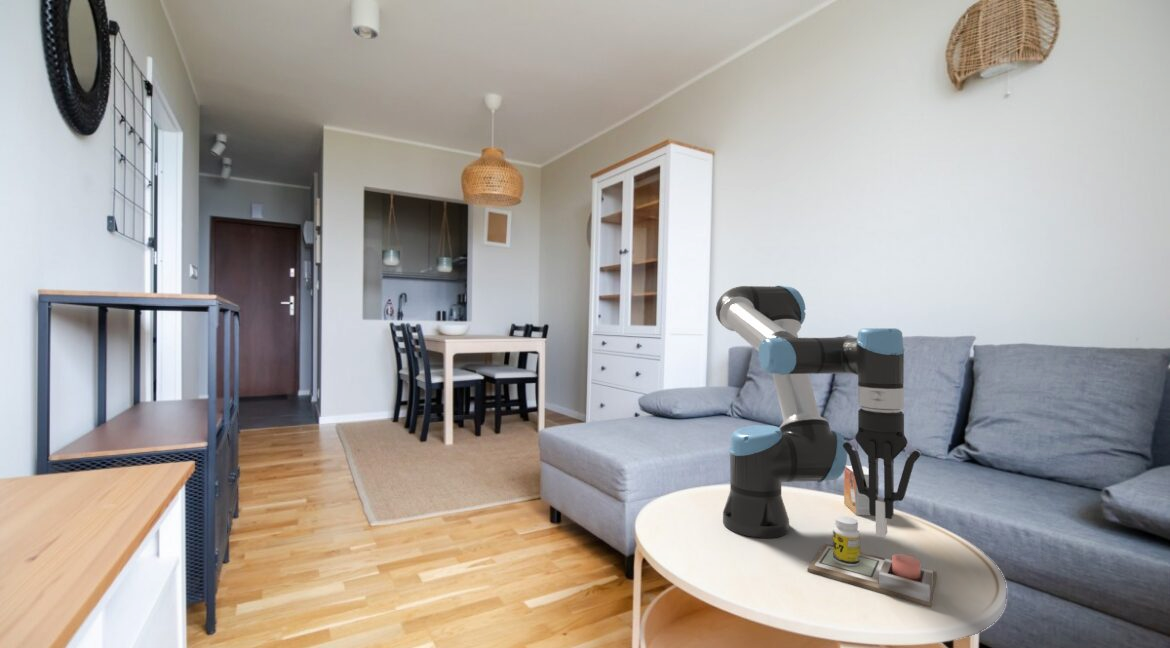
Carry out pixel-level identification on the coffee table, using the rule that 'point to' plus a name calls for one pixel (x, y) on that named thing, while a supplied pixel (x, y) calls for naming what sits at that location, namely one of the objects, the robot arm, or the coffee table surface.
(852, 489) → the small box
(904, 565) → the button
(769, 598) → the coffee table surface
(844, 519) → the supplement bottle
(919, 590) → the board
